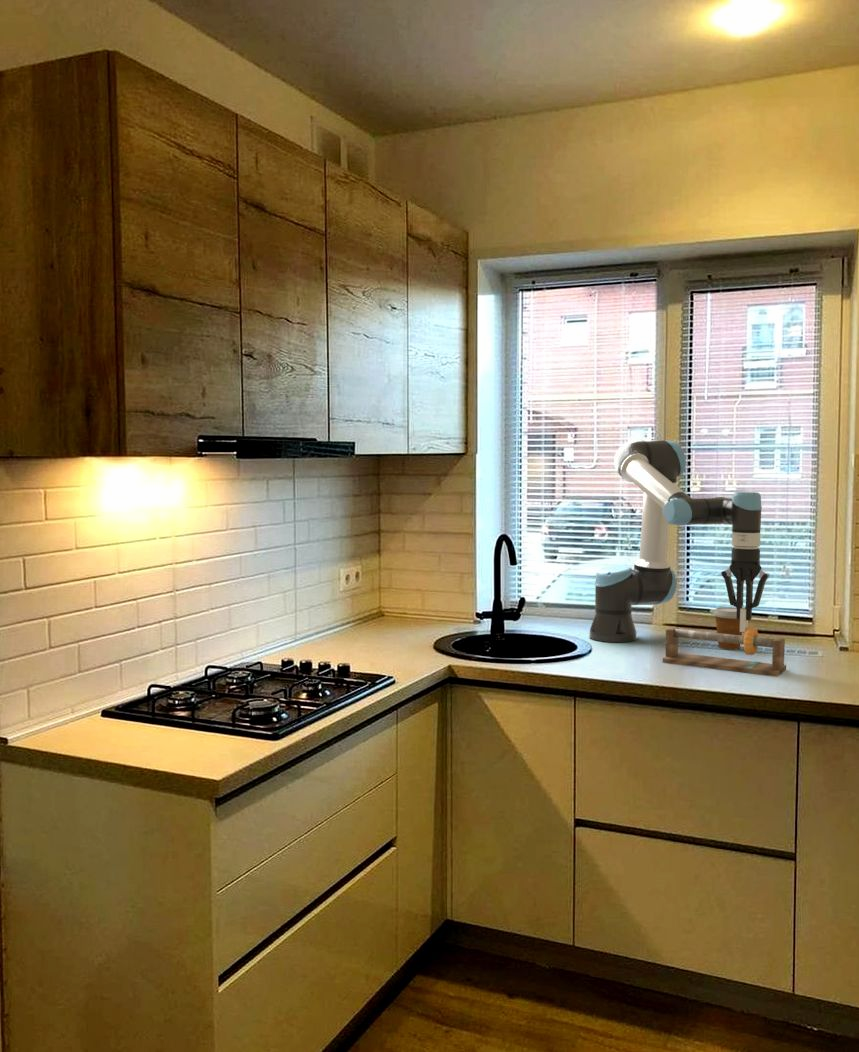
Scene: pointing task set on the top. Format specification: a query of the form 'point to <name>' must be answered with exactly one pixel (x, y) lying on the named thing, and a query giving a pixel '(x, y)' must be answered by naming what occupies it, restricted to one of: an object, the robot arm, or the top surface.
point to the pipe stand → (724, 663)
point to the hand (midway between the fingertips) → (743, 631)
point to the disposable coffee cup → (727, 625)
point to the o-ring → (750, 640)
